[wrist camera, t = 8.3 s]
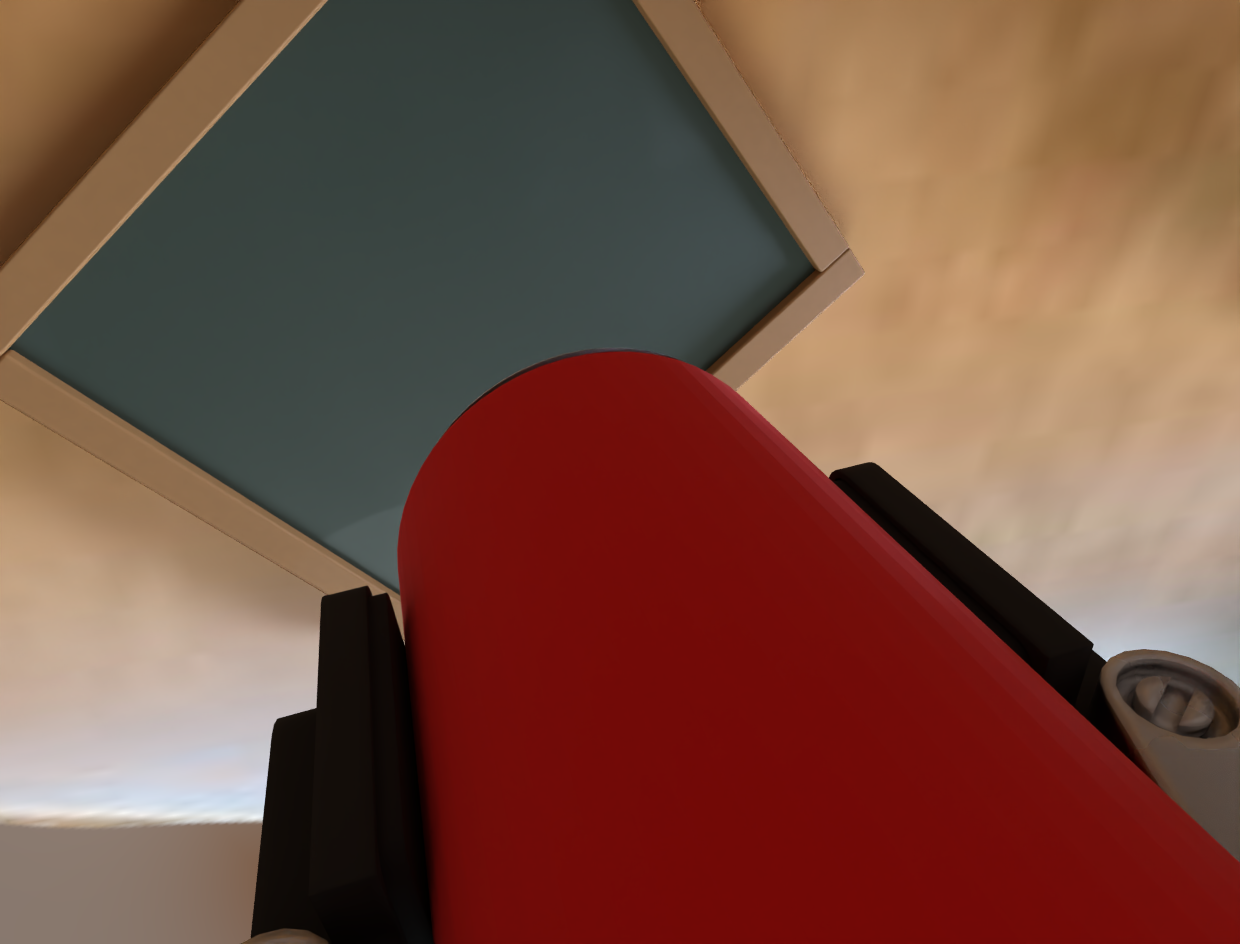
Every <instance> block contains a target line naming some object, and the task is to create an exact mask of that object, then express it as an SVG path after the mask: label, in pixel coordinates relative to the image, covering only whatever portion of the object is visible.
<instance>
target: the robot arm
mask: <svg viewBox="0 0 1240 944" xmlns="http://www.w3.org/2000/svg"><path fill="white" fill-rule="evenodd" d="M829 479H830V480H831V481H832V482H833V483H834V484H836V485H837V486H838V487H839V488H840V489H841V490H842V491H843V492H844V493H845V494H846V495H847V496H848V497H849V498H850V499H852V500H853V501H854V502H855V503H856V504H857V505H858V506H859V507H860V508H861V509H862V510H863V511H864V512H865V513H867V514H868V515H869V516H870V517H871V518H872V519H873V520H874V521H875V522H876V523H877V524H878V525H879V526H880V527H882V528H883V529H884V530H885V531H886V532H887V533H888V534H889V535H890V536H891V537H892V538H893V539H894V540H895V541H896V542H898V543H899V544H900V545H901V546H902V547H903V548H904V549H905V550H906V551H907V552H908V553H909V554H910V555H911V556H913V557H914V558H915V559H916V560H917V561H918V562H919V563H920V564H921V565H922V566H923V567H924V568H925V569H926V570H927V571H929V572H930V573H931V574H932V575H933V576H934V577H935V578H936V579H937V580H938V581H939V582H940V583H941V584H942V585H944V586H945V587H946V588H947V589H948V590H949V591H950V592H951V593H952V594H953V595H954V596H955V597H956V598H957V599H959V600H960V601H961V602H962V603H963V604H964V605H965V606H966V607H967V608H968V609H969V610H970V611H971V612H972V613H973V614H975V615H976V616H977V617H978V618H979V619H980V620H981V621H982V622H983V623H984V624H985V625H986V626H987V627H988V628H990V629H991V630H992V631H993V632H994V633H995V634H996V635H997V636H998V637H999V638H1000V639H1001V640H1002V641H1003V642H1004V643H1006V644H1007V645H1008V646H1009V647H1010V648H1011V649H1012V650H1013V651H1014V652H1015V653H1016V654H1017V655H1018V656H1019V657H1021V658H1022V659H1023V660H1024V661H1025V662H1026V663H1027V664H1028V665H1029V666H1030V667H1031V668H1032V669H1033V670H1034V671H1036V672H1037V673H1038V674H1039V675H1040V676H1041V677H1042V678H1043V679H1044V680H1045V681H1046V682H1047V683H1048V684H1049V685H1050V686H1052V687H1053V688H1054V689H1055V690H1056V691H1057V692H1058V693H1059V694H1060V695H1061V696H1062V697H1063V698H1064V699H1065V700H1067V701H1068V702H1069V703H1070V704H1071V705H1072V706H1073V707H1074V708H1075V709H1076V710H1077V711H1078V712H1079V713H1080V714H1081V715H1083V716H1084V717H1085V718H1086V719H1087V720H1088V721H1089V722H1090V723H1091V724H1092V725H1093V726H1094V727H1095V728H1096V729H1098V730H1099V731H1100V732H1101V733H1102V734H1103V735H1104V736H1105V737H1106V738H1107V739H1108V740H1109V741H1110V742H1111V743H1113V744H1114V745H1115V746H1116V747H1117V748H1118V749H1119V750H1120V751H1121V752H1122V753H1123V754H1124V755H1125V756H1126V757H1127V758H1129V759H1130V760H1131V761H1132V762H1133V763H1134V764H1135V765H1136V766H1137V767H1138V768H1139V769H1140V770H1141V771H1142V772H1144V773H1145V774H1146V775H1147V776H1148V777H1149V778H1150V779H1151V780H1152V781H1153V782H1154V783H1155V784H1156V785H1157V786H1158V787H1160V788H1161V789H1162V790H1163V791H1164V792H1165V793H1166V794H1167V795H1168V796H1169V797H1170V798H1171V799H1172V800H1173V801H1175V802H1176V803H1177V804H1178V805H1179V806H1180V807H1181V808H1182V809H1183V810H1184V811H1185V812H1186V813H1187V814H1188V815H1189V816H1191V817H1192V818H1193V819H1194V820H1195V821H1196V822H1197V823H1198V824H1199V825H1200V826H1201V827H1202V828H1203V829H1204V830H1206V831H1207V832H1208V833H1209V834H1210V835H1211V836H1212V837H1213V838H1214V839H1215V840H1216V841H1217V842H1218V843H1219V844H1221V845H1222V846H1223V847H1224V848H1225V849H1226V850H1227V851H1228V852H1229V853H1230V854H1231V855H1232V856H1233V857H1234V858H1235V859H1237V860H1238V861H1239V862H1240V688H1239V687H1238V686H1237V685H1236V684H1235V683H1234V682H1233V681H1232V680H1230V679H1229V678H1227V677H1226V676H1224V675H1223V674H1221V673H1220V672H1218V671H1216V670H1215V669H1213V668H1212V667H1210V666H1207V665H1205V664H1203V663H1201V662H1198V661H1196V660H1194V659H1192V658H1189V657H1186V656H1182V655H1178V654H1174V653H1171V652H1167V651H1159V650H1147V649H1141V650H1133V651H1125V652H1122V653H1120V654H1118V655H1116V656H1114V657H1112V658H1110V659H1109V660H1108V662H1106V661H1105V660H1104V659H1103V658H1102V657H1100V656H1099V655H1098V654H1097V653H1096V652H1094V651H1093V650H1092V648H1093V645H1094V644H1093V643H1092V642H1091V641H1090V640H1088V639H1087V638H1086V637H1085V636H1084V635H1082V634H1081V633H1080V632H1079V631H1078V630H1076V629H1075V628H1074V627H1073V626H1071V625H1070V624H1069V623H1068V622H1067V621H1065V620H1064V619H1063V618H1062V617H1061V616H1059V615H1058V614H1057V613H1056V612H1055V611H1053V610H1052V609H1051V608H1050V607H1049V606H1047V605H1046V604H1045V603H1044V602H1043V601H1041V600H1040V599H1039V598H1038V597H1036V596H1035V595H1034V594H1033V593H1032V592H1030V591H1029V590H1028V589H1027V588H1026V587H1024V586H1023V585H1022V584H1021V583H1020V582H1018V581H1017V580H1016V579H1015V578H1014V577H1012V576H1011V575H1010V574H1009V573H1008V572H1006V571H1005V570H1004V569H1003V568H1002V567H1000V566H999V565H998V564H997V563H995V562H994V561H993V560H992V559H991V558H989V557H988V556H987V555H986V554H985V553H983V552H982V551H981V550H980V549H979V548H977V547H976V546H975V545H974V544H973V543H971V542H970V541H969V540H968V539H967V538H965V537H964V536H963V535H962V534H960V533H959V532H958V531H957V530H956V529H954V528H953V527H952V526H951V525H950V524H948V523H947V522H946V521H945V520H944V519H942V518H941V517H940V516H939V515H938V514H936V513H935V512H934V511H933V510H932V509H930V508H929V507H928V506H927V505H926V504H924V503H923V502H922V501H921V500H919V499H918V498H917V497H916V496H915V495H913V494H912V493H911V492H910V491H909V490H907V489H906V488H905V487H904V486H903V485H901V484H900V483H899V482H898V481H897V480H895V479H894V478H893V477H892V476H891V475H889V474H888V473H887V472H886V471H884V470H883V469H882V468H881V467H880V466H878V465H877V464H875V463H872V462H868V463H864V464H860V465H855V466H851V467H847V468H843V469H839V470H835V471H834V472H832V473H831V475H830V477H829ZM241 944H434V943H433V933H432V922H431V912H430V901H429V891H428V881H427V870H426V860H425V849H424V839H423V828H422V818H421V807H420V797H419V786H418V776H417V765H416V755H415V744H414V734H413V723H412V713H411V702H410V692H409V682H408V671H407V661H406V650H405V645H404V642H403V638H402V635H401V632H400V629H399V625H398V622H397V619H396V616H395V612H394V609H393V606H392V603H391V600H390V597H389V594H388V593H387V592H386V593H382V594H378V595H374V596H373V595H372V592H371V590H370V588H369V586H363V587H359V588H355V589H351V590H347V591H343V592H338V593H334V594H330V595H326V596H323V597H322V601H321V617H320V640H319V663H318V686H317V708H315V709H311V710H308V711H304V712H300V713H297V714H293V715H289V716H286V717H282V718H278V719H277V721H276V722H275V724H274V727H273V732H272V739H271V748H270V758H269V768H268V777H267V787H266V796H265V806H264V815H263V825H262V835H261V845H260V854H259V864H258V873H257V882H256V892H255V902H254V911H253V921H252V930H251V939H249V940H247V941H245V942H243V943H241Z"/></svg>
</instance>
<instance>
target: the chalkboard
mask: <svg viewBox="0 0 1240 944" xmlns="http://www.w3.org/2000/svg"><path fill="white" fill-rule="evenodd" d="M848 247H849V245H848V244H847V242H846V241H845V239H844V237H843V236H842V234H841V233H840V231H839V230H838V228H837V226H836V225H835V223H834V222H833V220H832V219H831V217H830V215H829V214H828V212H827V211H826V209H825V207H824V206H823V204H822V203H821V201H820V200H819V198H818V196H817V195H816V193H815V192H814V190H813V188H812V187H811V185H810V184H809V182H808V181H807V179H806V177H805V176H804V174H803V173H802V171H801V169H800V168H799V166H798V165H797V163H796V162H795V160H794V158H793V157H792V155H791V154H790V152H789V151H788V149H787V147H786V146H785V144H784V143H783V141H782V139H781V138H780V136H779V135H778V133H777V132H776V130H775V128H774V127H773V125H772V124H771V122H770V120H769V119H768V117H767V116H766V114H765V113H764V111H763V109H762V108H761V106H760V105H759V103H758V102H757V100H756V98H755V97H754V95H753V94H752V92H751V90H750V89H749V87H748V86H747V84H746V83H745V81H744V79H743V78H742V76H741V75H740V73H739V71H738V70H737V68H736V67H735V65H734V64H733V62H732V60H731V59H730V57H729V56H728V54H727V52H726V51H725V49H724V48H723V46H722V45H721V43H720V41H719V40H718V38H717V37H716V35H715V34H714V32H713V30H712V29H711V27H710V26H709V24H708V22H707V21H706V19H705V18H704V16H703V15H702V13H701V11H700V10H699V8H698V7H697V5H696V3H695V2H694V0H240V1H239V2H238V3H237V5H236V6H235V7H234V8H233V9H232V10H231V11H230V12H229V13H228V15H227V16H226V17H225V18H224V19H223V20H222V21H221V22H220V23H219V25H218V26H217V27H216V28H215V29H214V30H213V31H212V32H211V33H210V35H209V36H208V37H207V38H206V39H205V40H204V41H203V42H202V43H201V45H200V46H199V47H198V48H197V49H196V50H195V51H194V52H193V54H192V55H191V56H190V57H189V58H188V59H187V60H186V61H185V62H184V64H183V65H182V66H181V67H180V68H179V69H178V70H177V71H176V72H175V74H174V75H173V76H172V77H171V78H170V79H169V80H168V81H167V82H166V84H165V85H164V86H163V87H162V88H161V89H160V90H159V91H158V92H157V94H156V95H155V96H154V97H153V98H152V99H151V100H150V101H149V103H148V104H147V105H146V106H145V107H144V108H143V109H142V110H141V111H140V113H139V114H138V115H137V116H136V117H135V118H134V119H133V120H132V121H131V123H130V124H129V125H128V126H127V127H126V128H125V129H124V130H123V131H122V133H121V134H120V135H119V136H118V137H117V138H116V139H115V140H114V141H113V143H112V144H111V145H110V146H109V147H108V148H107V149H106V150H105V151H104V153H103V154H102V155H101V156H100V157H99V158H98V159H97V160H96V162H95V163H94V164H93V165H92V166H91V167H90V168H89V169H88V170H87V172H86V173H85V174H84V175H83V176H82V177H81V178H80V179H79V180H78V182H77V183H76V184H75V185H74V186H73V187H72V188H71V189H70V190H69V192H68V193H67V194H66V195H65V196H64V197H63V198H62V199H61V200H60V202H59V203H58V204H57V205H56V206H55V207H54V208H53V209H52V210H51V212H50V213H49V214H48V215H47V216H46V217H45V218H44V219H43V221H42V222H41V223H40V224H39V225H38V226H37V227H36V228H35V229H34V231H33V232H32V233H31V234H30V235H29V236H28V237H27V238H26V239H25V241H24V242H23V243H22V244H21V245H20V246H19V247H18V248H17V249H16V251H15V252H14V253H13V254H12V255H11V256H10V257H9V258H8V259H7V261H6V262H5V263H4V264H3V265H2V266H1V267H0V400H1V401H3V402H5V403H6V404H8V405H10V406H11V407H13V408H15V409H16V410H18V411H20V412H21V413H23V414H25V415H26V416H28V417H30V418H31V419H33V420H35V421H36V422H38V423H40V424H42V425H43V426H45V427H47V428H48V429H50V430H52V431H53V432H55V433H57V434H58V435H60V436H62V437H63V438H65V439H67V440H68V441H70V442H72V443H73V444H75V445H77V446H78V447H80V448H82V449H83V450H85V451H87V452H88V453H90V454H92V455H94V456H95V457H97V458H99V459H100V460H102V461H104V462H105V463H107V464H109V465H110V466H112V467H114V468H115V469H117V470H119V471H120V472H122V473H124V474H125V475H127V476H129V477H130V478H132V479H134V480H135V481H137V482H139V483H140V484H142V485H144V486H146V487H147V488H149V489H151V490H152V491H154V492H156V493H157V494H159V495H161V496H162V497H164V498H166V499H167V500H169V501H171V502H172V503H174V504H176V505H177V506H179V507H181V508H182V509H184V510H186V511H187V512H189V513H191V514H192V515H194V516H196V517H198V518H199V519H201V520H203V521H204V522H206V523H208V524H209V525H211V526H213V527H214V528H216V529H218V530H219V531H221V532H223V533H224V534H226V535H228V536H229V537H231V538H233V539H234V540H236V541H238V542H239V543H241V544H243V545H244V546H246V547H248V548H250V549H251V550H253V551H255V552H256V553H258V554H260V555H261V556H263V557H265V558H266V559H268V560H270V561H271V562H273V563H275V564H276V565H278V566H280V567H281V568H283V569H285V570H286V571H288V572H290V573H291V574H293V575H295V576H296V577H298V578H300V579H302V580H303V581H305V582H307V583H308V584H310V585H312V586H313V587H315V588H317V589H318V590H320V591H322V592H323V593H325V594H327V595H330V594H334V593H338V592H343V591H347V590H351V589H355V588H359V587H363V586H369V588H370V590H371V592H372V595H373V596H374V595H378V594H382V593H386V592H387V593H388V594H389V597H390V600H391V603H392V606H393V609H394V612H395V616H396V619H397V622H398V625H399V629H400V632H401V635H402V638H403V640H404V629H403V619H402V608H401V598H400V587H399V577H398V561H397V546H398V536H399V527H400V523H401V518H402V514H403V509H404V506H405V503H406V500H407V497H408V495H409V492H410V489H411V487H412V485H413V483H414V480H415V478H416V476H417V474H418V472H419V470H420V468H421V466H422V465H423V463H424V462H425V460H426V459H427V457H428V455H429V454H430V452H431V451H432V449H433V448H434V446H435V445H436V444H437V442H438V441H439V439H440V437H441V436H442V435H443V434H444V432H445V431H446V430H447V429H448V427H449V426H450V425H451V424H452V422H453V421H454V420H455V419H456V418H457V417H458V416H459V415H460V414H461V413H462V412H463V411H464V410H465V409H466V408H467V407H468V406H469V405H470V404H471V403H472V402H474V401H475V400H476V399H477V398H478V397H480V396H481V395H482V394H483V393H484V392H486V391H487V390H489V389H490V388H491V387H493V386H494V385H496V384H497V383H499V382H500V381H502V380H503V379H505V378H507V377H509V376H511V375H512V374H514V373H516V372H518V371H520V370H522V369H524V368H526V367H529V366H531V365H533V364H536V363H538V362H540V361H543V360H546V359H549V358H552V357H556V356H559V355H562V354H567V353H572V352H576V351H581V350H589V349H599V348H630V349H639V350H647V351H651V352H655V353H660V354H664V355H667V356H670V357H673V358H676V359H678V360H681V361H684V362H686V363H688V364H691V365H693V366H696V367H698V368H700V369H702V370H704V371H706V372H708V373H710V374H712V375H713V376H715V377H716V378H718V379H719V380H721V381H722V382H724V383H725V384H727V385H728V386H730V387H731V388H732V389H733V390H734V391H737V390H738V389H739V388H740V387H741V386H742V385H743V384H744V383H745V382H747V381H748V380H749V379H750V378H751V377H752V376H753V375H754V374H755V373H756V372H758V371H759V370H760V369H761V368H762V367H763V366H764V365H765V364H766V363H767V362H769V361H770V360H771V359H772V358H773V357H774V356H775V355H776V354H777V353H778V352H780V351H781V350H782V349H783V348H784V347H785V346H786V345H787V344H788V343H789V342H791V341H792V340H793V339H794V338H795V337H796V336H797V335H798V334H799V333H800V332H802V331H803V330H804V329H805V328H806V327H807V326H808V325H809V324H810V323H811V322H813V321H814V320H815V319H816V318H817V317H818V316H819V315H820V314H821V313H822V312H824V311H825V310H826V309H827V308H828V307H829V306H830V305H831V304H832V303H833V302H835V301H836V300H837V299H838V298H839V297H840V296H841V295H842V294H843V293H844V292H846V291H847V290H848V289H849V288H850V287H851V286H852V285H853V284H854V283H855V282H857V281H858V280H859V279H860V278H861V277H862V276H863V275H864V274H865V272H864V270H863V268H862V267H861V265H860V264H859V262H858V260H857V259H856V257H855V256H854V254H853V252H852V251H851V249H850V248H848ZM404 641H405V640H404Z"/></svg>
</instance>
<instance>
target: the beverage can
mask: <svg viewBox="0 0 1240 944" xmlns="http://www.w3.org/2000/svg"><path fill="white" fill-rule="evenodd" d="M397 561H398V577H399V587H400V598H401V608H402V619H403V629H404V640H405V650H406V661H407V671H408V682H409V692H410V702H411V713H412V723H413V734H414V744H415V755H416V765H417V776H418V786H419V797H420V807H421V818H422V828H423V839H424V849H425V860H426V870H427V881H428V891H429V901H430V912H431V922H432V933H433V943H434V944H1240V862H1239V861H1238V860H1237V859H1235V858H1234V857H1233V856H1232V855H1231V854H1230V853H1229V852H1228V851H1227V850H1226V849H1225V848H1224V847H1223V846H1222V845H1221V844H1219V843H1218V842H1217V841H1216V840H1215V839H1214V838H1213V837H1212V836H1211V835H1210V834H1209V833H1208V832H1207V831H1206V830H1204V829H1203V828H1202V827H1201V826H1200V825H1199V824H1198V823H1197V822H1196V821H1195V820H1194V819H1193V818H1192V817H1191V816H1189V815H1188V814H1187V813H1186V812H1185V811H1184V810H1183V809H1182V808H1181V807H1180V806H1179V805H1178V804H1177V803H1176V802H1175V801H1173V800H1172V799H1171V798H1170V797H1169V796H1168V795H1167V794H1166V793H1165V792H1164V791H1163V790H1162V789H1161V788H1160V787H1158V786H1157V785H1156V784H1155V783H1154V782H1153V781H1152V780H1151V779H1150V778H1149V777H1148V776H1147V775H1146V774H1145V773H1144V772H1142V771H1141V770H1140V769H1139V768H1138V767H1137V766H1136V765H1135V764H1134V763H1133V762H1132V761H1131V760H1130V759H1129V758H1127V757H1126V756H1125V755H1124V754H1123V753H1122V752H1121V751H1120V750H1119V749H1118V748H1117V747H1116V746H1115V745H1114V744H1113V743H1111V742H1110V741H1109V740H1108V739H1107V738H1106V737H1105V736H1104V735H1103V734H1102V733H1101V732H1100V731H1099V730H1098V729H1096V728H1095V727H1094V726H1093V725H1092V724H1091V723H1090V722H1089V721H1088V720H1087V719H1086V718H1085V717H1084V716H1083V715H1081V714H1080V713H1079V712H1078V711H1077V710H1076V709H1075V708H1074V707H1073V706H1072V705H1071V704H1070V703H1069V702H1068V701H1067V700H1065V699H1064V698H1063V697H1062V696H1061V695H1060V694H1059V693H1058V692H1057V691H1056V690H1055V689H1054V688H1053V687H1052V686H1050V685H1049V684H1048V683H1047V682H1046V681H1045V680H1044V679H1043V678H1042V677H1041V676H1040V675H1039V674H1038V673H1037V672H1036V671H1034V670H1033V669H1032V668H1031V667H1030V666H1029V665H1028V664H1027V663H1026V662H1025V661H1024V660H1023V659H1022V658H1021V657H1019V656H1018V655H1017V654H1016V653H1015V652H1014V651H1013V650H1012V649H1011V648H1010V647H1009V646H1008V645H1007V644H1006V643H1004V642H1003V641H1002V640H1001V639H1000V638H999V637H998V636H997V635H996V634H995V633H994V632H993V631H992V630H991V629H990V628H988V627H987V626H986V625H985V624H984V623H983V622H982V621H981V620H980V619H979V618H978V617H977V616H976V615H975V614H973V613H972V612H971V611H970V610H969V609H968V608H967V607H966V606H965V605H964V604H963V603H962V602H961V601H960V600H959V599H957V598H956V597H955V596H954V595H953V594H952V593H951V592H950V591H949V590H948V589H947V588H946V587H945V586H944V585H942V584H941V583H940V582H939V581H938V580H937V579H936V578H935V577H934V576H933V575H932V574H931V573H930V572H929V571H927V570H926V569H925V568H924V567H923V566H922V565H921V564H920V563H919V562H918V561H917V560H916V559H915V558H914V557H913V556H911V555H910V554H909V553H908V552H907V551H906V550H905V549H904V548H903V547H902V546H901V545H900V544H899V543H898V542H896V541H895V540H894V539H893V538H892V537H891V536H890V535H889V534H888V533H887V532H886V531H885V530H884V529H883V528H882V527H880V526H879V525H878V524H877V523H876V522H875V521H874V520H873V519H872V518H871V517H870V516H869V515H868V514H867V513H865V512H864V511H863V510H862V509H861V508H860V507H859V506H858V505H857V504H856V503H855V502H854V501H853V500H852V499H850V498H849V497H848V496H847V495H846V494H845V493H844V492H843V491H842V490H841V489H840V488H839V487H838V486H837V485H836V484H834V483H833V482H832V481H831V480H830V479H829V478H828V477H827V476H826V475H825V474H824V473H823V472H822V471H821V470H819V469H818V468H817V467H816V466H815V465H814V464H813V463H812V462H811V461H810V460H809V459H808V458H807V457H806V456H805V455H803V454H802V453H801V452H800V451H799V450H798V449H797V448H796V447H795V446H794V445H793V444H792V443H791V442H790V441H788V440H787V439H786V438H785V437H784V436H783V435H782V434H781V433H780V432H779V431H778V430H777V429H776V428H775V427H773V426H772V425H771V424H770V423H769V422H768V421H767V420H766V419H765V418H764V417H763V416H762V415H761V414H760V413H759V412H757V411H756V410H755V409H754V408H753V407H752V406H751V405H750V404H749V403H748V402H747V401H746V400H745V399H744V398H742V397H741V396H740V395H739V394H738V393H737V392H736V391H734V390H733V389H732V388H731V387H730V386H728V385H727V384H725V383H724V382H722V381H721V380H719V379H718V378H716V377H715V376H713V375H712V374H710V373H708V372H706V371H704V370H702V369H700V368H698V367H696V366H693V365H691V364H688V363H686V362H684V361H681V360H678V359H676V358H673V357H670V356H667V355H664V354H660V353H655V352H651V351H647V350H639V349H630V348H599V349H589V350H581V351H576V352H572V353H567V354H562V355H559V356H556V357H552V358H549V359H546V360H543V361H540V362H538V363H536V364H533V365H531V366H529V367H526V368H524V369H522V370H520V371H518V372H516V373H514V374H512V375H511V376H509V377H507V378H505V379H503V380H502V381H500V382H499V383H497V384H496V385H494V386H493V387H491V388H490V389H489V390H487V391H486V392H484V393H483V394H482V395H481V396H480V397H478V398H477V399H476V400H475V401H474V402H472V403H471V404H470V405H469V406H468V407H467V408H466V409H465V410H464V411H463V412H462V413H461V414H460V415H459V416H458V417H457V418H456V419H455V420H454V421H453V422H452V424H451V425H450V426H449V427H448V429H447V430H446V431H445V432H444V434H443V435H442V436H441V437H440V439H439V441H438V442H437V444H436V445H435V446H434V448H433V449H432V451H431V452H430V454H429V455H428V457H427V459H426V460H425V462H424V463H423V465H422V466H421V468H420V470H419V472H418V474H417V476H416V478H415V480H414V483H413V485H412V487H411V489H410V492H409V495H408V497H407V500H406V503H405V506H404V509H403V514H402V518H401V523H400V527H399V536H398V546H397Z"/></svg>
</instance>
